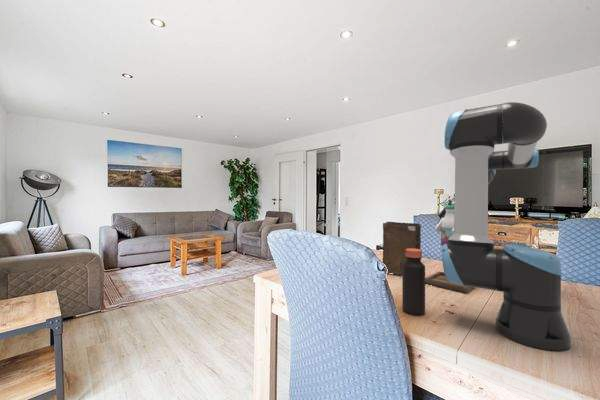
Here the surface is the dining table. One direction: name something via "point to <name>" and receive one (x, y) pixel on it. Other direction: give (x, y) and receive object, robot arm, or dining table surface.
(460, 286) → the walnut tray
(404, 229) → the book
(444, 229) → the milk bottle
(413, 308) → the vinegar
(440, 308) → the dining table surface
